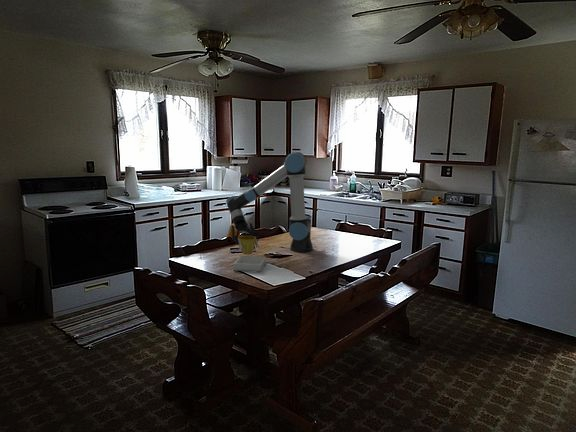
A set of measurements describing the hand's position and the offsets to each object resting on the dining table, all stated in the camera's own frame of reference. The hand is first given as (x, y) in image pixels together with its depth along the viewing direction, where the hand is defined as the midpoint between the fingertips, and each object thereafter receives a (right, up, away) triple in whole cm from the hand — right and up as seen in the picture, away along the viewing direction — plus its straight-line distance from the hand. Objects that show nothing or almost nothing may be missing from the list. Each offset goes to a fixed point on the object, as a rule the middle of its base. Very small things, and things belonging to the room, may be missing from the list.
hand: (249, 247), depth 244 cm
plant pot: (-2, -4, +3) cm, 5 cm away
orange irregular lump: (-15, +1, +49) cm, 51 cm away
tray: (+2, -10, -14) cm, 17 cm away
